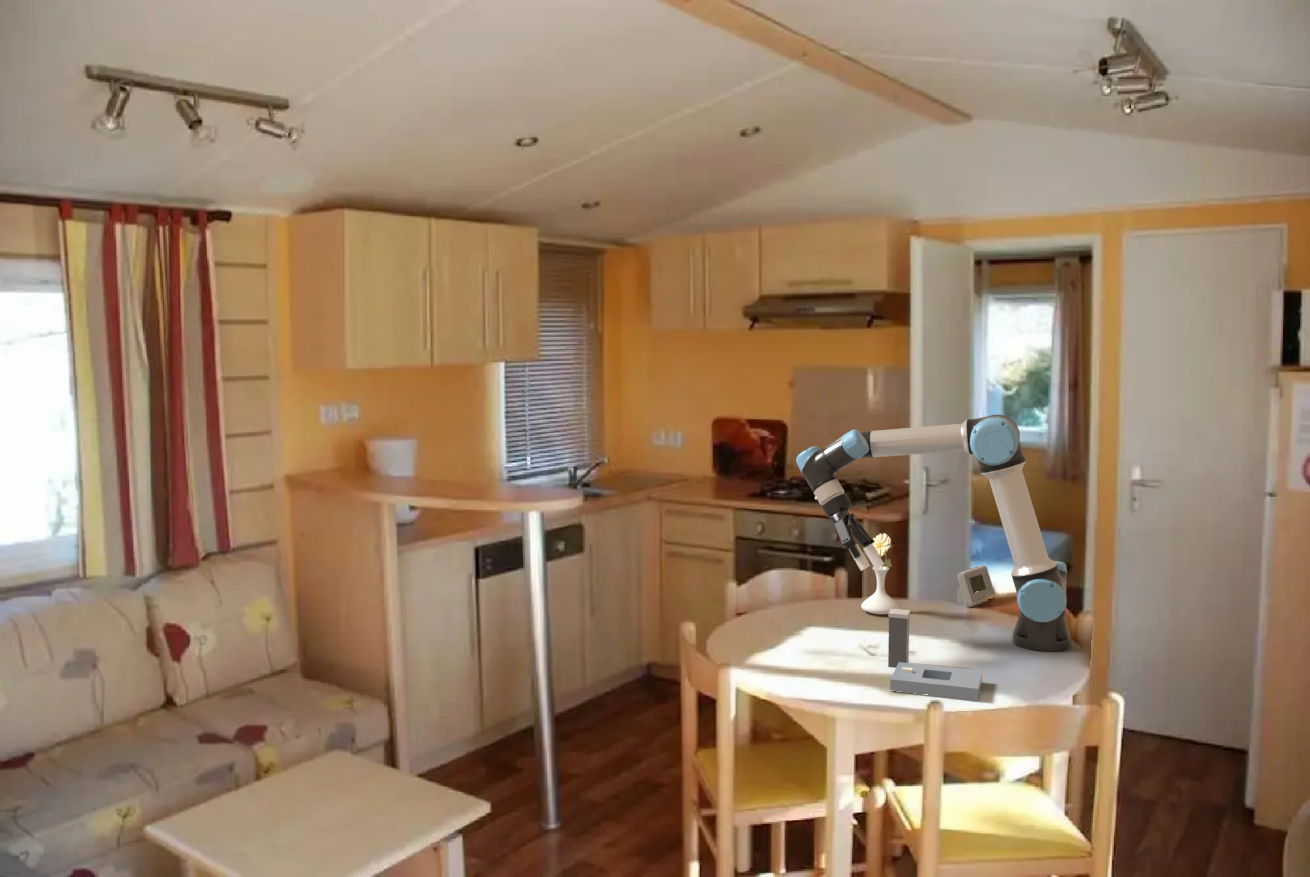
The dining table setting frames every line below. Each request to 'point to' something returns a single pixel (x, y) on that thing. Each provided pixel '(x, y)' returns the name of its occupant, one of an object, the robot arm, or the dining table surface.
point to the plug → (898, 637)
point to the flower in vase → (880, 581)
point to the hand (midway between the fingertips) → (873, 567)
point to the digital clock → (974, 586)
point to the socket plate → (937, 681)
